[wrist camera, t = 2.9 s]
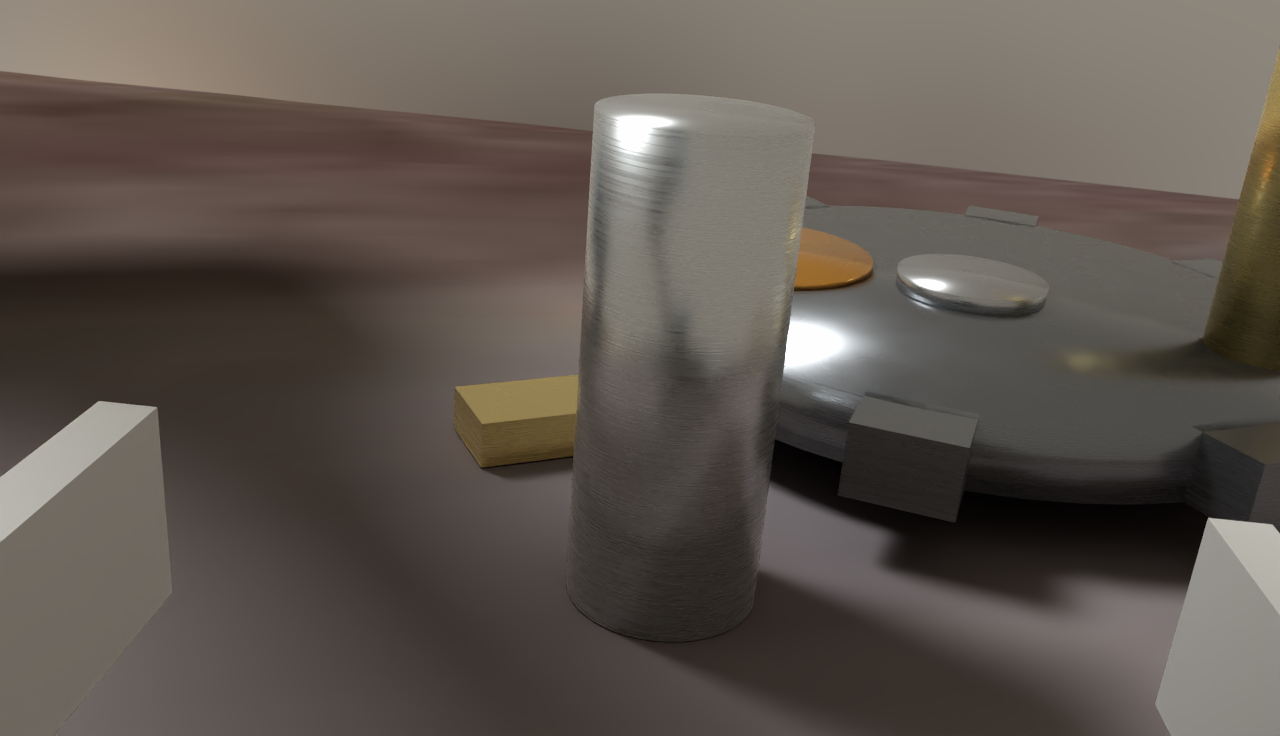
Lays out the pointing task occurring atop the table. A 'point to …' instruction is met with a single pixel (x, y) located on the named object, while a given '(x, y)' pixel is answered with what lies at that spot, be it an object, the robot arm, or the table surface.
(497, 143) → the table surface
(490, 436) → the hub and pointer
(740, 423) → the roller
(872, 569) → the table surface
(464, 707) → the table surface
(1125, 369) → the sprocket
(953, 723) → the table surface
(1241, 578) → the robot arm
